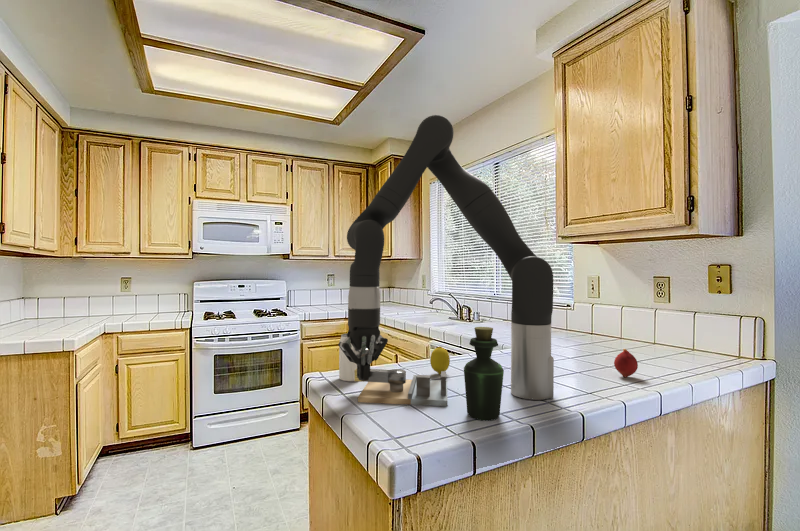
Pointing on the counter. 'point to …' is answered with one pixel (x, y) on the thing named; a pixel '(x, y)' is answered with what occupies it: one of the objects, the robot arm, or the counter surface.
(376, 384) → the board
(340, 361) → the can
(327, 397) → the counter surface
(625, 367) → the onion
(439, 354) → the lemon
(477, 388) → the potion bottle
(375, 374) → the swing bar
